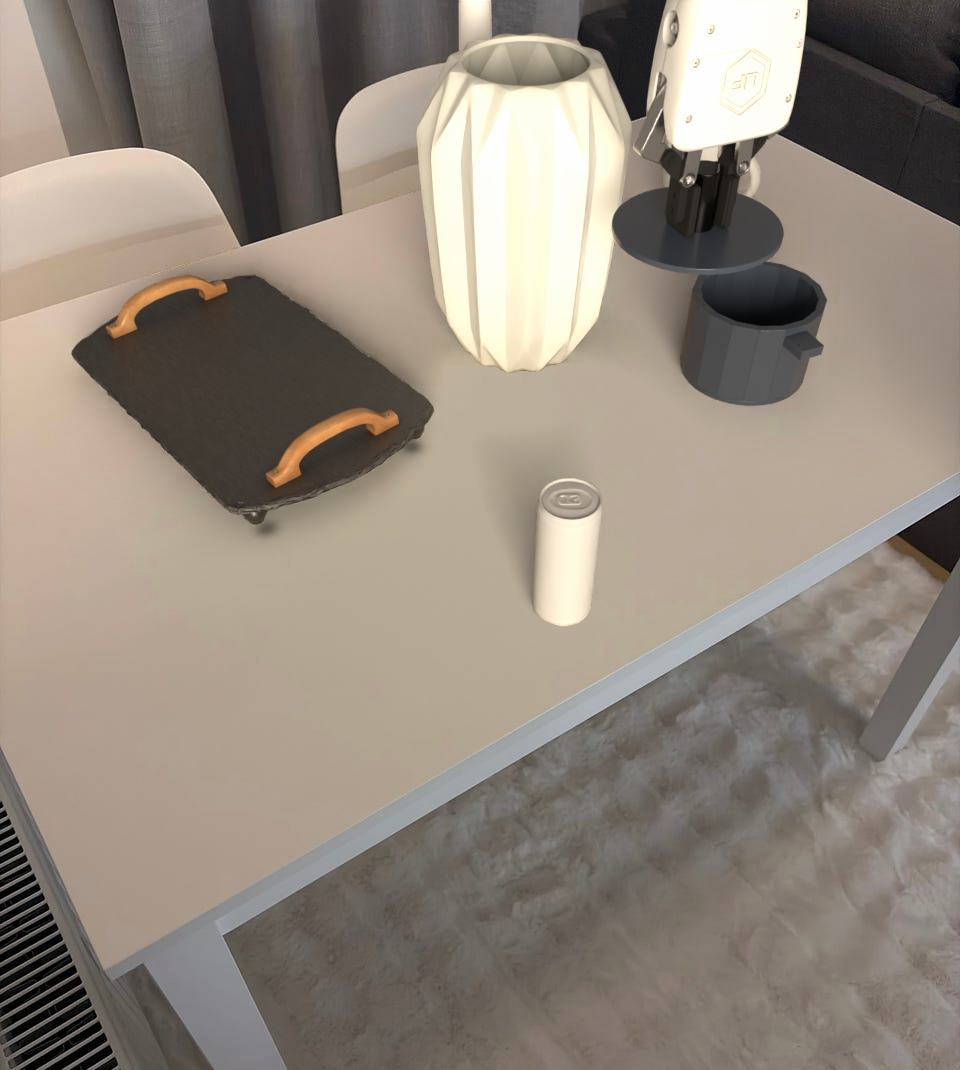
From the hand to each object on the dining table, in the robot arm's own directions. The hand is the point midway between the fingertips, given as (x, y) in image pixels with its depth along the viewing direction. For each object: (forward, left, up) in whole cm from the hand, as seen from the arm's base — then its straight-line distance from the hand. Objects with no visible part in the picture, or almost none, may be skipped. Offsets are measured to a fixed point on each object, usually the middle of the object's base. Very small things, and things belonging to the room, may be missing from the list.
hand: (697, 222), depth 76 cm
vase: (+6, -20, -21) cm, 30 cm away
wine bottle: (+3, -38, -21) cm, 43 cm away
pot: (-13, -6, -21) cm, 25 cm away
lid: (0, 0, -1) cm, 1 cm away
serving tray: (+35, -22, -21) cm, 46 cm away
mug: (-28, -37, -21) cm, 51 cm away
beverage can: (+19, +16, -21) cm, 33 cm away
